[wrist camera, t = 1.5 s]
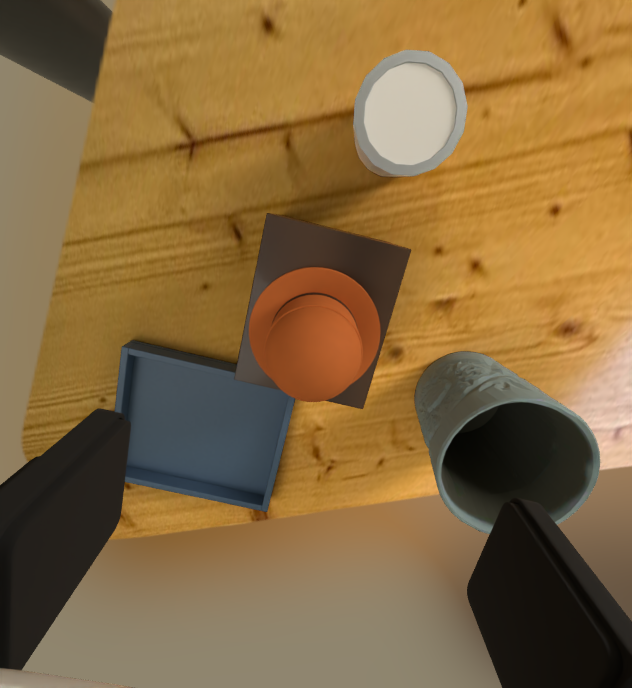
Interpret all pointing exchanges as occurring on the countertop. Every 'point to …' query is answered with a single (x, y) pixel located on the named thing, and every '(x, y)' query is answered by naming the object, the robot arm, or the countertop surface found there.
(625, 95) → the countertop surface
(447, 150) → the shot glass
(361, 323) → the hat
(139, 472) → the tray
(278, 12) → the countertop surface
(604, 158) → the countertop surface
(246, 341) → the stand block
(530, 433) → the grey-green cup
